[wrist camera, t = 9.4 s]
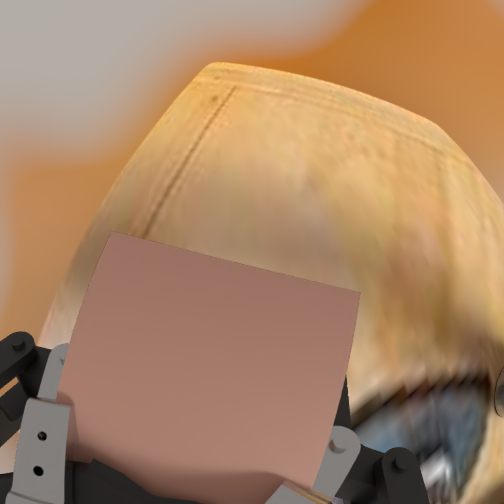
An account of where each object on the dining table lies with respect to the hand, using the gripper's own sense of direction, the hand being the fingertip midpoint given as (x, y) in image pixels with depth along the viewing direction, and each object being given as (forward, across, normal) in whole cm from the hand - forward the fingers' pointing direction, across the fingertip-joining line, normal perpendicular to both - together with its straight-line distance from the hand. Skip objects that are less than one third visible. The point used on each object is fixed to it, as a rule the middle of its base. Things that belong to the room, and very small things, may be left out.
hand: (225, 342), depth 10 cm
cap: (+1, 0, +3) cm, 3 cm away
